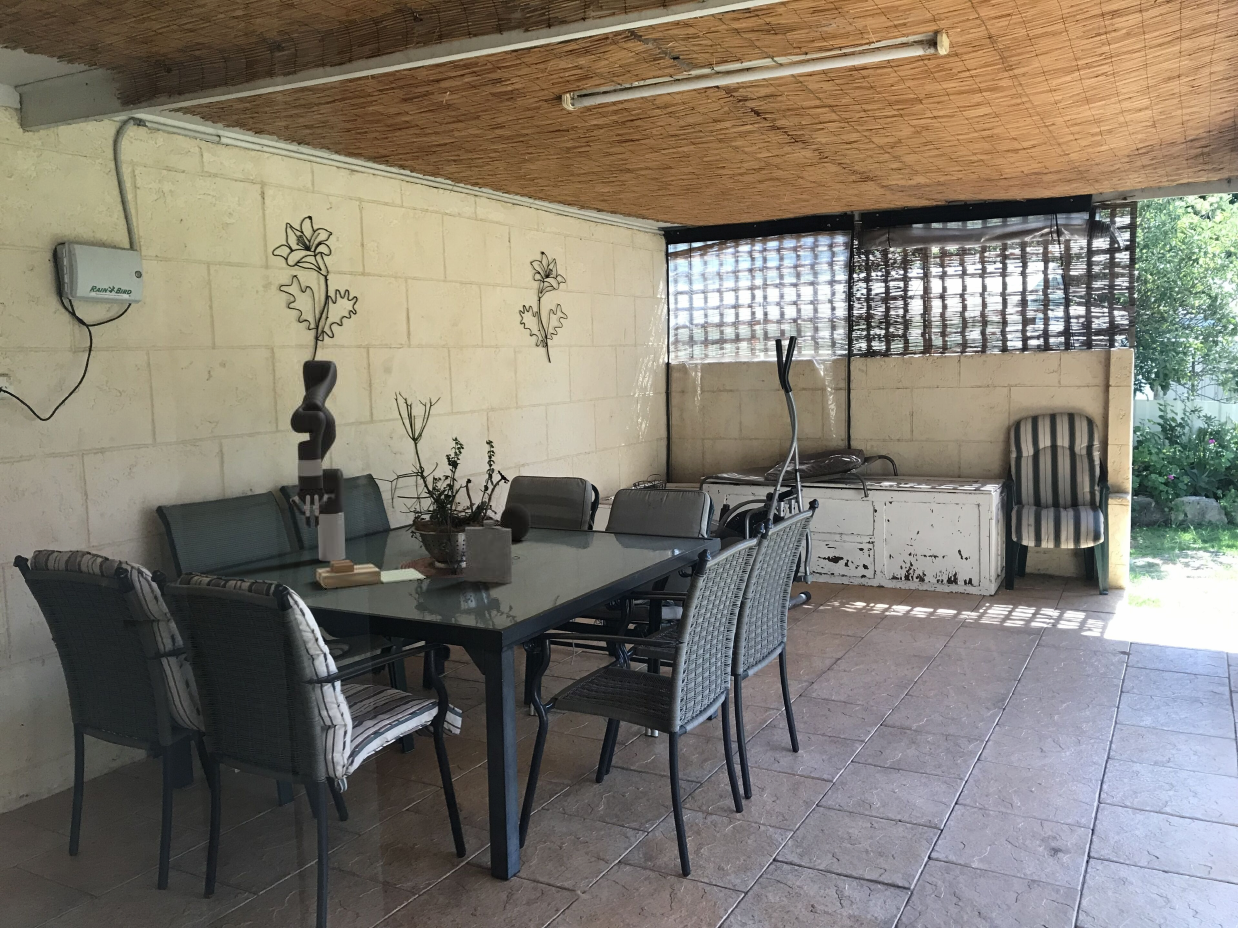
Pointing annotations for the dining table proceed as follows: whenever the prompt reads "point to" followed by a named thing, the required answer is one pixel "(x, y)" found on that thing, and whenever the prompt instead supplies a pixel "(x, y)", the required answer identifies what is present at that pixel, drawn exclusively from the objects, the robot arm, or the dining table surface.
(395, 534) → the dining table surface
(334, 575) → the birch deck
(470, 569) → the hip flask
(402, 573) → the sage mat
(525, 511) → the decorative egg
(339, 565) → the walnut tile
